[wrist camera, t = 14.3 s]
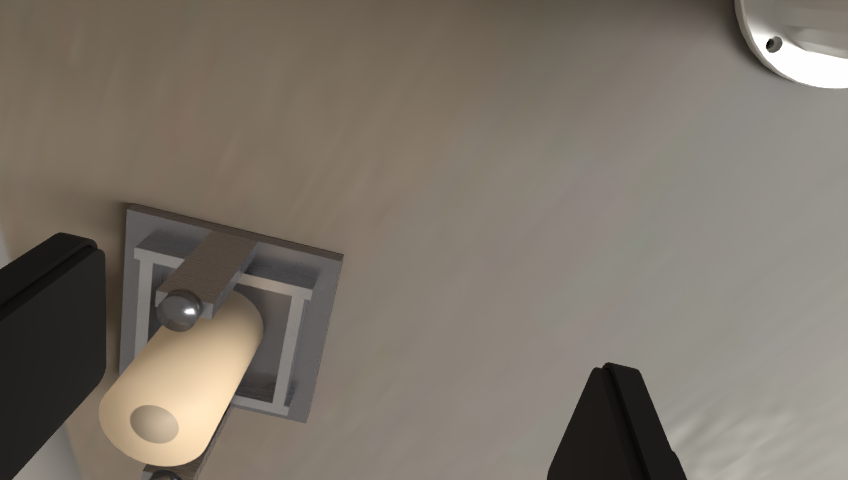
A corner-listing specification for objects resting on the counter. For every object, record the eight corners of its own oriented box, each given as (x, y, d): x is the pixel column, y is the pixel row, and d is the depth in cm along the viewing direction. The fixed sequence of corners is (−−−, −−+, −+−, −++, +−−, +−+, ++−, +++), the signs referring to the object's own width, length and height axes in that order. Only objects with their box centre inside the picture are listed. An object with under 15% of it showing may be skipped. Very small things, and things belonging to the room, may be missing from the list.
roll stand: (345, 248, 39) (314, 330, 30) (307, 419, 45) (272, 530, 36) (135, 196, 38) (36, 265, 29) (125, 378, 44) (41, 482, 35)
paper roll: (269, 297, 40) (214, 393, 31) (257, 368, 42) (204, 476, 33) (180, 277, 40) (99, 368, 30) (174, 349, 42) (97, 454, 33)
